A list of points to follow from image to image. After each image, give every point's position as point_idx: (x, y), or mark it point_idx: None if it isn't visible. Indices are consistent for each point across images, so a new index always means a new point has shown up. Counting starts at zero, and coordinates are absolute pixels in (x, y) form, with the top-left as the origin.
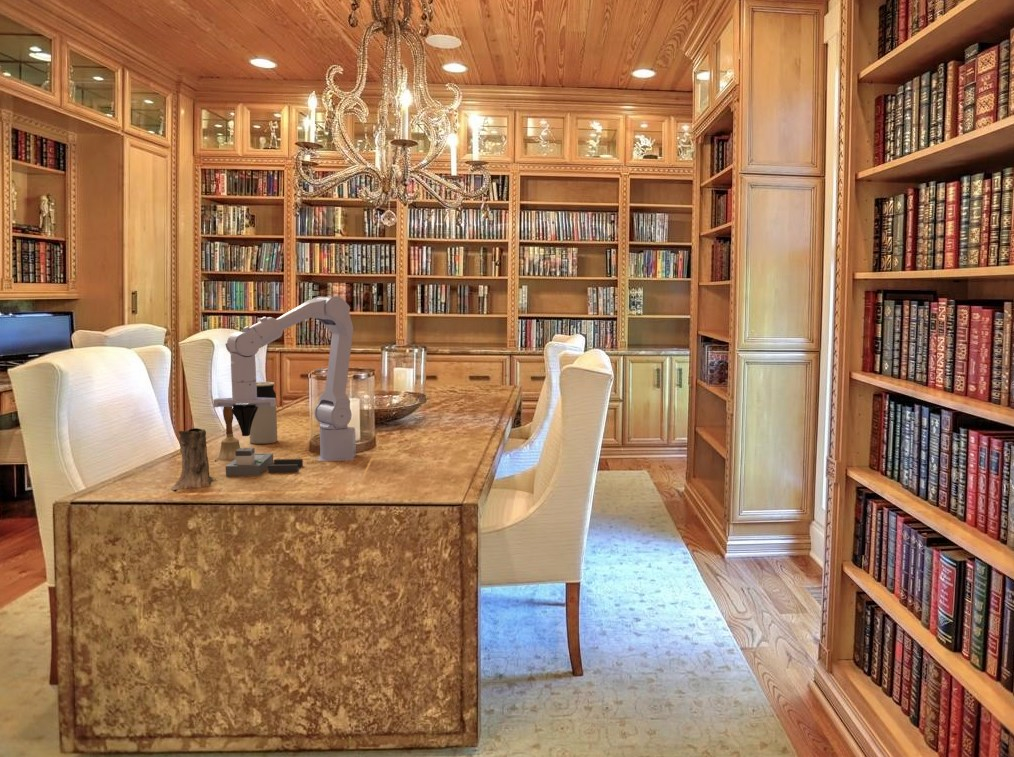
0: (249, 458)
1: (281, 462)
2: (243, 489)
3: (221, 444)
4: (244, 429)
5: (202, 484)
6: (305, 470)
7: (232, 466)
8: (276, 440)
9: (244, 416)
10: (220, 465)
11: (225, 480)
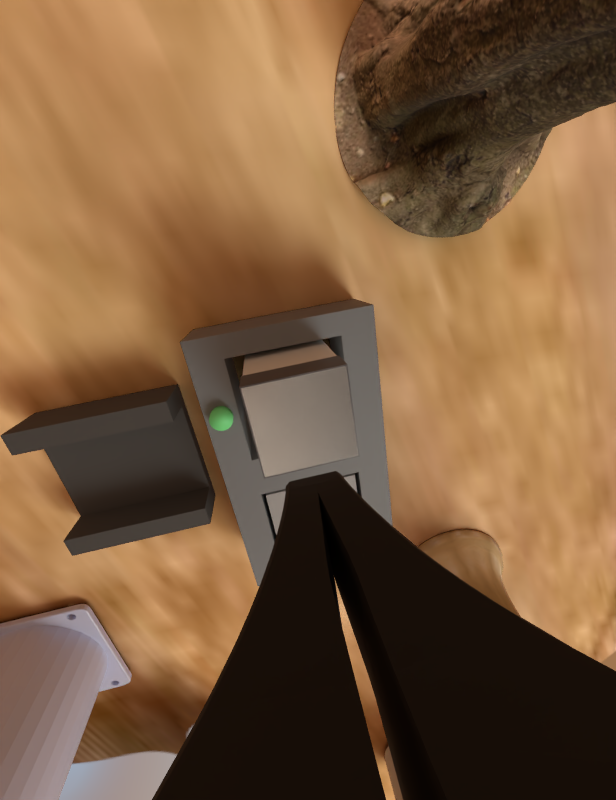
0: (251, 370)
1: (170, 508)
2: (135, 40)
3: (515, 609)
4: (327, 519)
5: (397, 25)
6: (52, 490)
7: (334, 311)
8: (385, 756)
9: (345, 703)
10: (456, 494)
11: (340, 259)
